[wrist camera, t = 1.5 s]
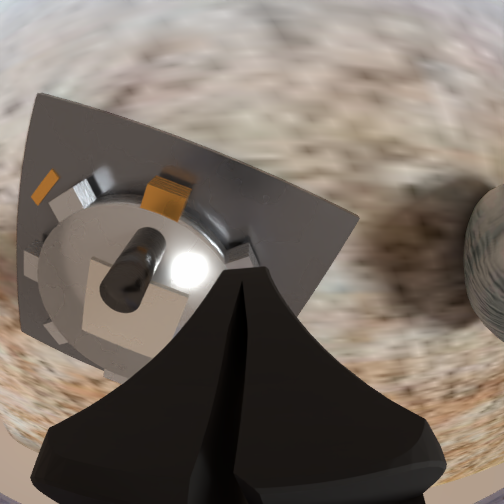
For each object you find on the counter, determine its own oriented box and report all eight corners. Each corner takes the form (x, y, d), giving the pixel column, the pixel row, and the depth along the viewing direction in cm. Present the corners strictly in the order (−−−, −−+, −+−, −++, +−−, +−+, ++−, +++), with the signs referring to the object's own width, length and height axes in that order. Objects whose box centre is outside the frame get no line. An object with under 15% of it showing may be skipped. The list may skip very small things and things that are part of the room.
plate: (228, 407, 24) (227, 412, 23) (23, 328, 20) (20, 332, 19) (357, 215, 16) (360, 219, 15) (41, 92, 12) (36, 93, 12)
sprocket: (212, 396, 22) (206, 461, 17) (37, 328, 19) (3, 382, 14) (311, 237, 16) (337, 308, 11) (51, 136, 13) (-23, 166, 8)
